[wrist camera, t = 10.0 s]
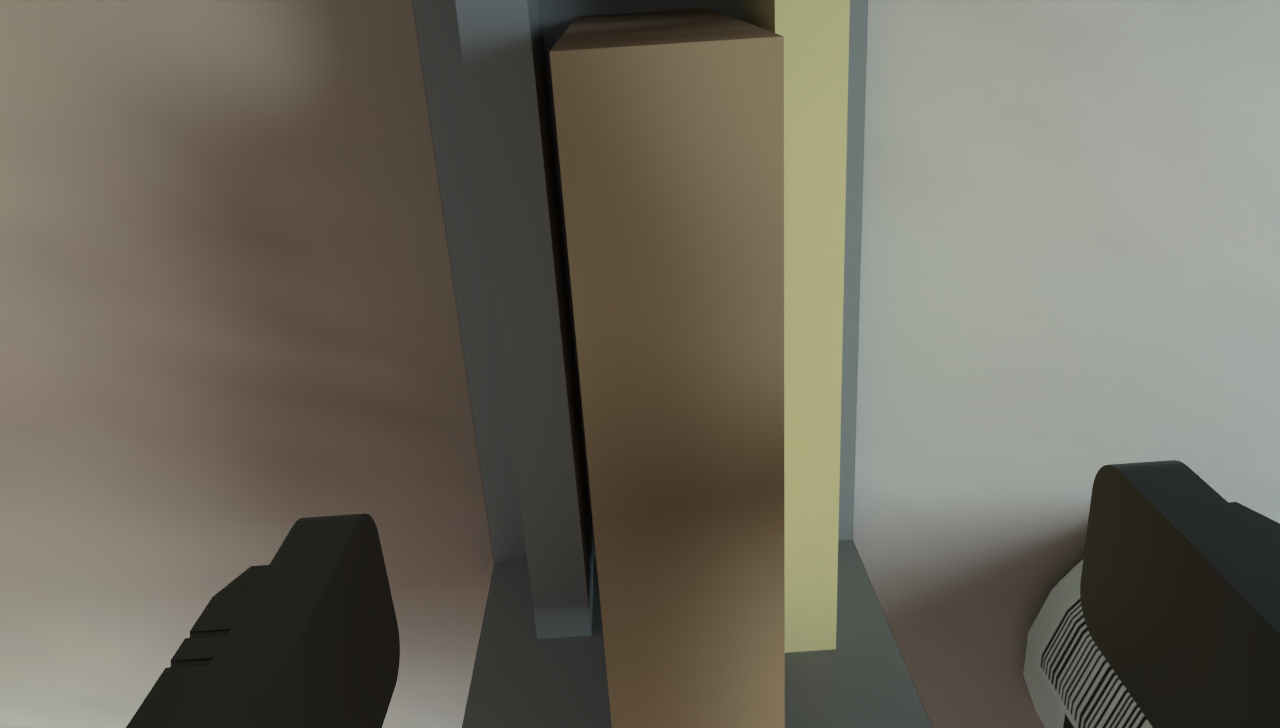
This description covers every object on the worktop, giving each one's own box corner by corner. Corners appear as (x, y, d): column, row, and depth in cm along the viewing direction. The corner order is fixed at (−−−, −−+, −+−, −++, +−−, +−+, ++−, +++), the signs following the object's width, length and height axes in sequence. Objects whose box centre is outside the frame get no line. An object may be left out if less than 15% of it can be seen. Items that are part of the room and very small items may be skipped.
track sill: (860, -221, 18) (1118, -420, 9) (842, 563, 25) (977, 907, 16) (395, -190, 18) (171, -356, 9) (504, 587, 25) (443, 944, 16)
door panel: (709, 7, 19) (788, 35, 10) (724, 524, 23) (787, 829, 15) (574, 16, 19) (545, 51, 10) (616, 531, 23) (618, 840, 15)
